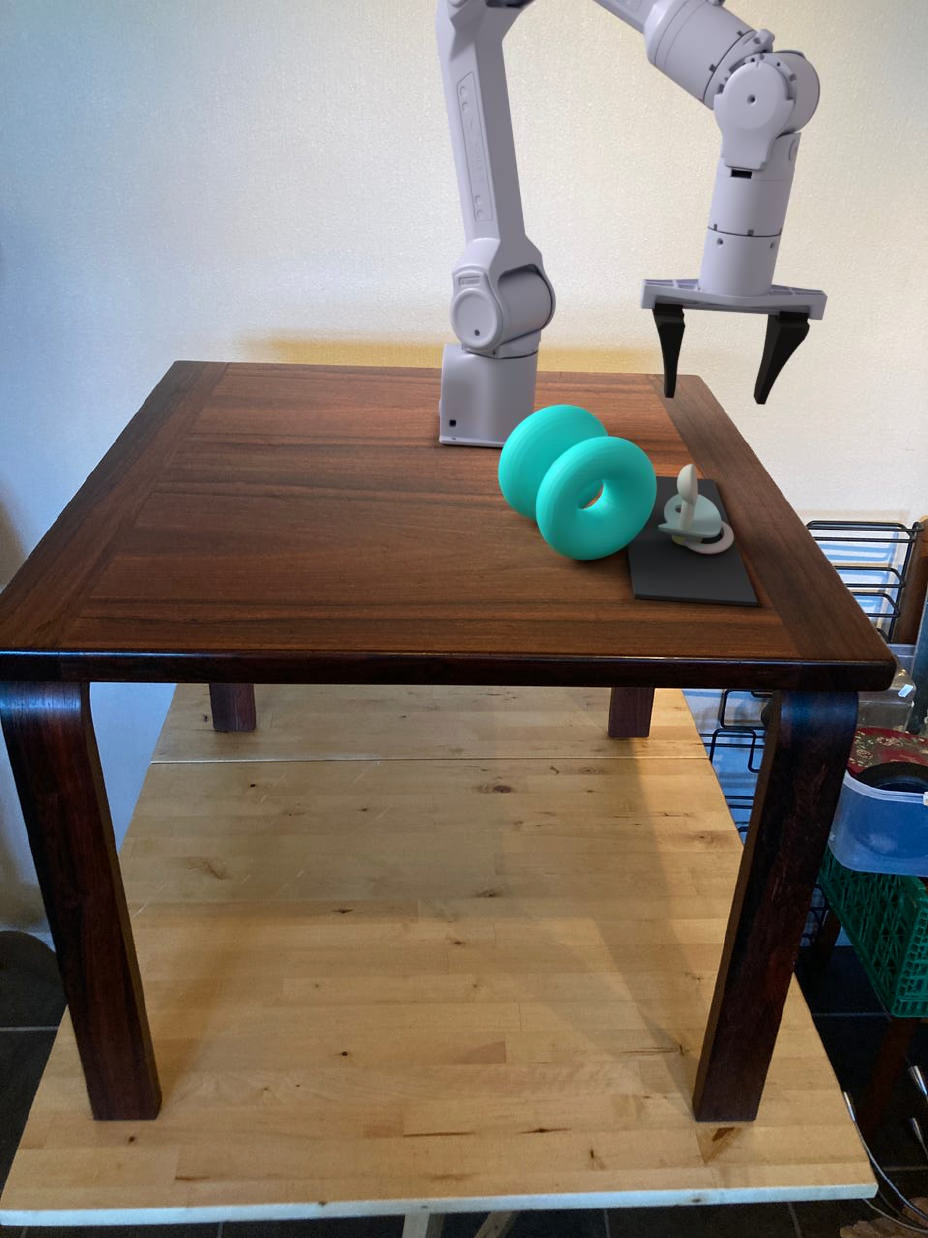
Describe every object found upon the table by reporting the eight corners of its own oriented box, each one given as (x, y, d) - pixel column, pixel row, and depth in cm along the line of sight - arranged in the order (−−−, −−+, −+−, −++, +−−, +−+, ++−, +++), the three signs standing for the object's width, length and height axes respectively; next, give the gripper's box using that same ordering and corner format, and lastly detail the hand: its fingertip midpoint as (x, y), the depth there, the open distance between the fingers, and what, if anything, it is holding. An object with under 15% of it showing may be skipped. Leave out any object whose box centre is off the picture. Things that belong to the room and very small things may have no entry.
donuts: (593, 504, 85) (606, 394, 80) (653, 556, 78) (673, 438, 72) (489, 519, 82) (496, 405, 77) (541, 575, 74) (553, 453, 69)
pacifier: (735, 527, 82) (664, 513, 83) (752, 458, 79) (678, 445, 80) (728, 567, 76) (651, 551, 77) (745, 494, 73) (665, 479, 74)
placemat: (634, 598, 72) (634, 593, 72) (615, 477, 91) (616, 473, 90) (756, 606, 72) (757, 602, 71) (712, 483, 90) (713, 479, 90)
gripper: (827, 225, 79) (791, 387, 86) (648, 214, 80) (626, 376, 87) (848, 243, 73) (806, 415, 80) (653, 231, 74) (630, 403, 81)
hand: (713, 397), depth 83 cm, fingers open, 7 cm apart
